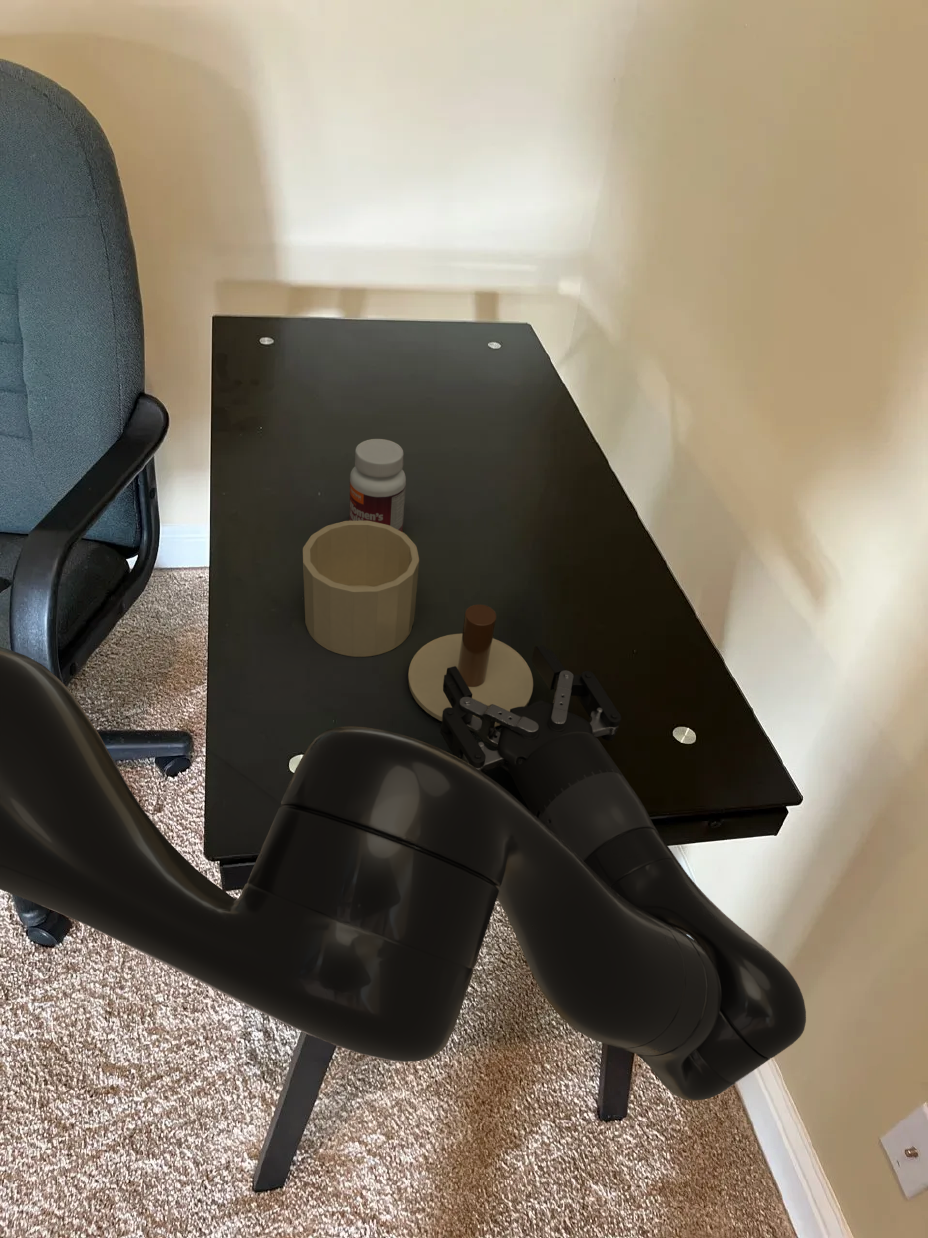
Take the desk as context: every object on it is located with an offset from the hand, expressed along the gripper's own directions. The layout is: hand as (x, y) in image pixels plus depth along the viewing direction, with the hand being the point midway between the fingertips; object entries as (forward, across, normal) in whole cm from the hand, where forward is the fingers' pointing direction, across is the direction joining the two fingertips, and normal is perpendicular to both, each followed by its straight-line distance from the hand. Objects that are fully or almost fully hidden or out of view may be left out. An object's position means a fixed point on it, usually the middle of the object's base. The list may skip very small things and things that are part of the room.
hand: (493, 662), depth 73 cm
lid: (+4, 0, +6) cm, 7 cm away
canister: (+16, +7, +7) cm, 18 cm away
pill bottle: (+29, +1, +7) cm, 29 cm away
